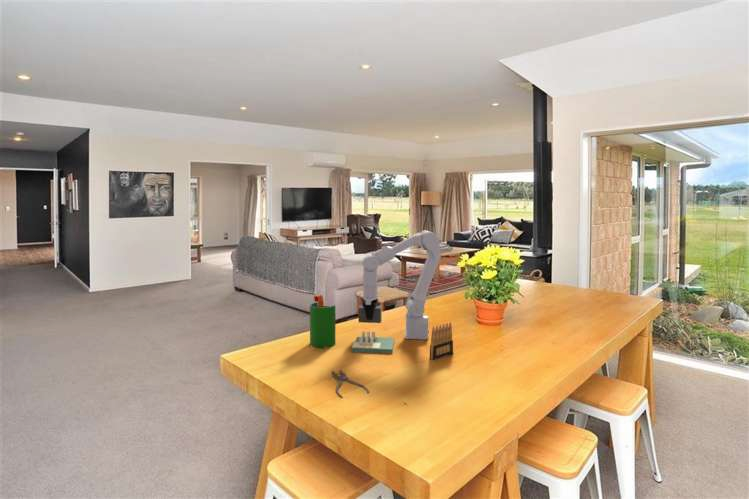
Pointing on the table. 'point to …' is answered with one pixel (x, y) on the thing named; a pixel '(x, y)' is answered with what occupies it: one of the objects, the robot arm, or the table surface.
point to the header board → (373, 344)
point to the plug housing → (376, 315)
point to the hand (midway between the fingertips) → (370, 318)
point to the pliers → (345, 378)
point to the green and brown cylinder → (322, 323)
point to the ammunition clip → (441, 342)
